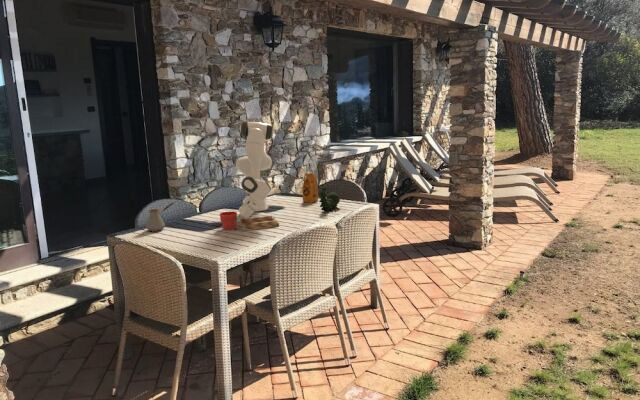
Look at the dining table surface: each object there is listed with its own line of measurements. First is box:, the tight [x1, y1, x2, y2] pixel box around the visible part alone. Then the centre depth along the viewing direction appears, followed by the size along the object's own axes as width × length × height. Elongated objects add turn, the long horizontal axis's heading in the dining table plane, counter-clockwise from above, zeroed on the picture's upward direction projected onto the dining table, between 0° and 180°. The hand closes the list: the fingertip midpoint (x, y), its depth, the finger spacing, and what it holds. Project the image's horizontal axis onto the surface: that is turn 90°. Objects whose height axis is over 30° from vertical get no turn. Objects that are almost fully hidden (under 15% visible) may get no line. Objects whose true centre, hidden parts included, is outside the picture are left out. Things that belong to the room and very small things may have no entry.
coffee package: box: [301, 171, 319, 204], centre depth 378 cm, size 10×12×22 cm
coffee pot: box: [145, 202, 174, 232], centre depth 315 cm, size 21×12×15 cm, turn 144°
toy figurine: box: [318, 186, 341, 212], centre depth 347 cm, size 9×19×25 cm
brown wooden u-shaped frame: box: [240, 215, 280, 231], centre depth 313 cm, size 22×17×4 cm
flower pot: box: [219, 211, 238, 231], centre depth 307 cm, size 11×11×10 cm
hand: (237, 220), depth 308 cm, fingers closed
